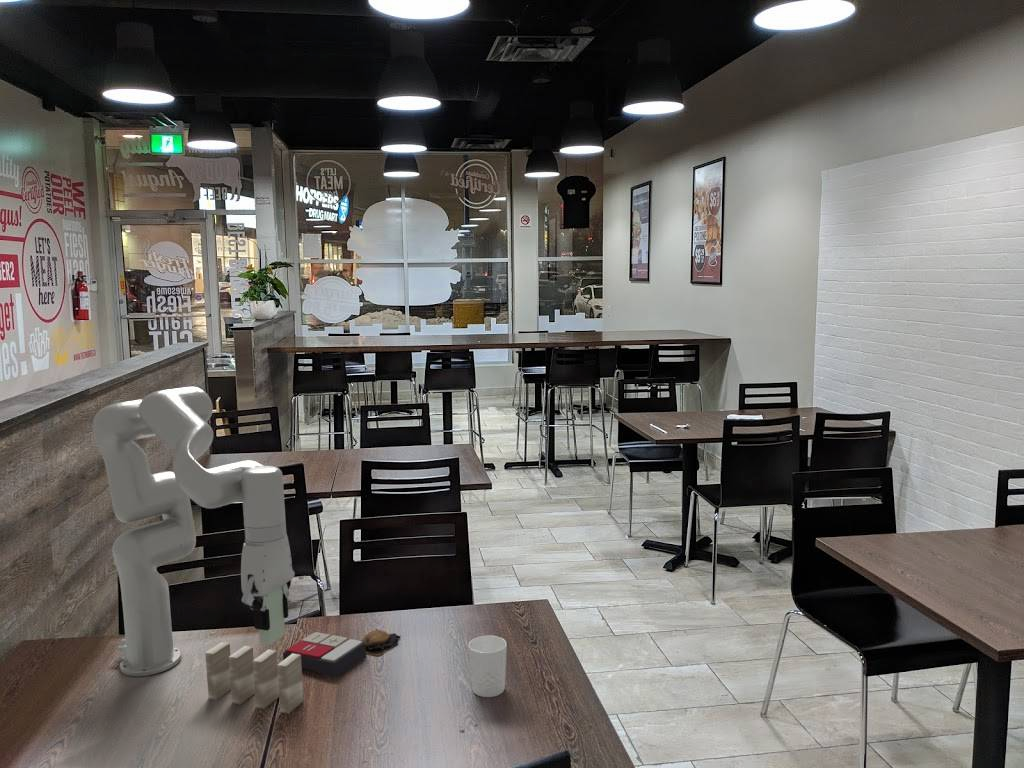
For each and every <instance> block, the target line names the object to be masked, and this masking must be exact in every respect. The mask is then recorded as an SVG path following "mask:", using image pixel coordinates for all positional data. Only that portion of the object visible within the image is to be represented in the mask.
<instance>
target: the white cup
mask: <svg viewBox="0 0 1024 768" xmlns="http://www.w3.org/2000/svg"><path fill="white" fill-rule="evenodd" d="M507 644H508V643H507V640H505V639H504V638H502V637H500V636H496V635H491V634H490V635H482V636H477V637H475V638H472V639H471V640H470V641H469V642H468V655H469V669H470V670H469V671H470V678H471V689H472V692H473V693H474V695H476V696H479V697H482V698H493V697H498V696H500V695H501V694H502V693H504V691H505V689H506V688H505V687H506V675H507V674H506V673H507V672H506V670H507V647H508V646H507Z"/></svg>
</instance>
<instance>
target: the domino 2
mask: <svg viewBox="0 0 1024 768" xmlns="http://www.w3.org/2000/svg"><path fill="white" fill-rule="evenodd" d="M253 660H255V658H254V647H253V646H249V645H244V646H241V648H239V649H238V650H237V651H235V652H233V653H232V654H230V656H229V666H230V681H231V690H230V695H231V703H232V704H236V705H241V704H243V703H245V702H246V701H247V699H249V698H251V697H252V696H253V695H255V686H254V671H253Z"/></svg>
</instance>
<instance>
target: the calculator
mask: <svg viewBox="0 0 1024 768" xmlns="http://www.w3.org/2000/svg"><path fill="white" fill-rule="evenodd" d="M292 653H293V654H299V655H301V667H302V670H305V671H311V672H317V673H319V674H320V675H324V676H327V677H331V678H338V677H339V676H340V675H342V674H343V673H345V672H346V671H348V670H349V669H350V668H352V667H354V666H355V665H357V664H358V663H359V662H360V661H362V660H364V659H365V658H366V657H367V654H366V648H365V642H362V641H360V640H359V639H353V638H351V639H350V638H349V639H348V637H345V636H340V635H335V634H334V635H333V634H332V635H331V634H329V633H322V632H318V631H316V632H313V633H312V634H311V633H310V634H309V635H307V636H306V637H305V638H302V640H301V641H298V642H295V643H294V644H292V645H291V646H290V647H287V648H286V649H285V651H283V652H282V654H283V655H282V657H283V660H284V659H286V658H287V657H288V656H290V655H291V654H292Z"/></svg>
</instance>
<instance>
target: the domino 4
mask: <svg viewBox="0 0 1024 768" xmlns="http://www.w3.org/2000/svg"><path fill="white" fill-rule="evenodd" d="M253 671H254V686H255V693H254V698H255V708H256V709H262V710H265V709H267V707H268V706H270V705H271V704H272V703H273V702H275V701H276V700H277V699H278V698H279V682H278V653H277V650H275V649H266V651H264V652H263V653H261V654H260V655H258V656H256V658H254V660H253Z"/></svg>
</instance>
